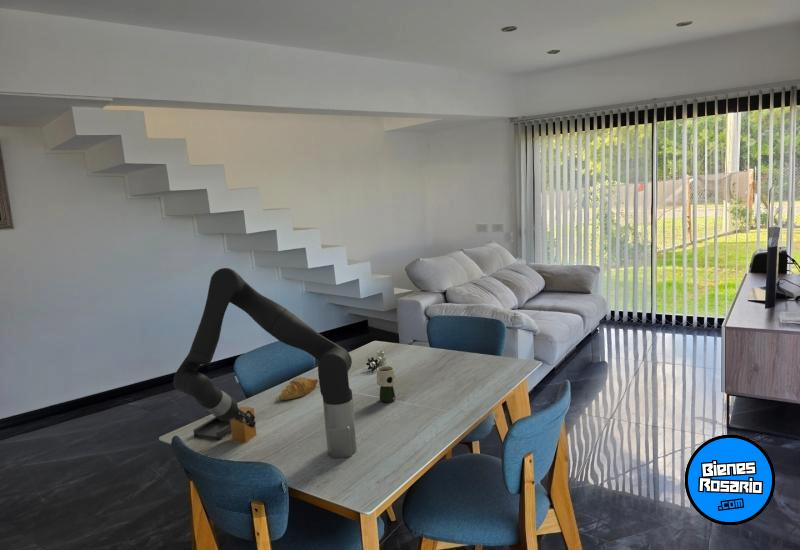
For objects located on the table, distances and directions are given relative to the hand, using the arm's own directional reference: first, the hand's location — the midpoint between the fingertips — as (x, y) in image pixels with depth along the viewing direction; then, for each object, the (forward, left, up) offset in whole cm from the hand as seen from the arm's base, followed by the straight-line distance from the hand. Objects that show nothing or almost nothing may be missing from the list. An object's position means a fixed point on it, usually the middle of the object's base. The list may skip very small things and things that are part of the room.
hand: (246, 424), depth 190 cm
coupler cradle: (+7, +11, -4) cm, 14 cm away
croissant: (+38, -14, -5) cm, 41 cm away
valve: (+65, -49, -5) cm, 81 cm away
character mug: (+21, -50, -5) cm, 55 cm away
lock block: (-2, +1, -4) cm, 5 cm away
